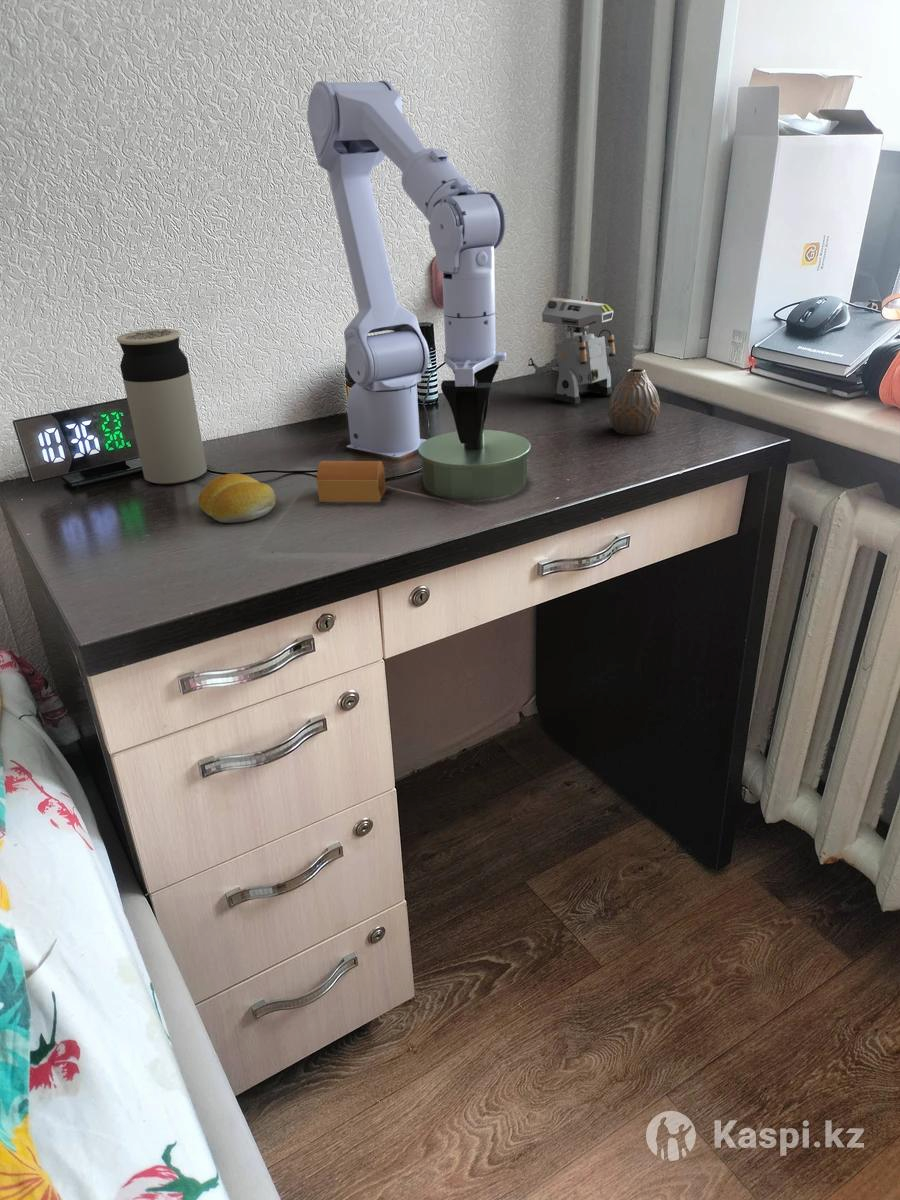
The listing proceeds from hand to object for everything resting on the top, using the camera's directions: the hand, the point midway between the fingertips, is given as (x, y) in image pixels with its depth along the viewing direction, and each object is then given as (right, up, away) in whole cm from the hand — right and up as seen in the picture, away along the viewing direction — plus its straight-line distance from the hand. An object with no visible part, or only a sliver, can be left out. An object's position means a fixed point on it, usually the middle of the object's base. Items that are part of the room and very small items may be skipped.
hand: (473, 432), depth 103 cm
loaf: (-14, -8, +1) cm, 16 cm away
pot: (0, -6, +3) cm, 7 cm away
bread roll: (-27, -9, -1) cm, 29 cm away
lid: (0, -2, +1) cm, 2 cm away
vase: (+23, +3, +19) cm, 30 cm away
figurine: (+17, +13, +37) cm, 43 cm away
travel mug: (-39, -4, +11) cm, 40 cm away
